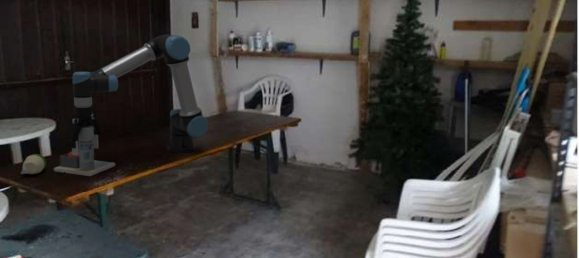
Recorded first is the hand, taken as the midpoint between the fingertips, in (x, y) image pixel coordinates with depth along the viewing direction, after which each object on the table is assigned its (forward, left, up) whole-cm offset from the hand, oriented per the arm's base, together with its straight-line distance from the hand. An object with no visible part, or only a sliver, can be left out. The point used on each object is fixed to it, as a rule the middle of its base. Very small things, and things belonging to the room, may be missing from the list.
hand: (85, 151), depth 227 cm
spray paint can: (0, 0, -8) cm, 8 cm away
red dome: (+9, -3, -8) cm, 13 cm away
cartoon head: (+21, +10, -10) cm, 25 cm away
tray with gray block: (+4, -4, -10) cm, 12 cm away
